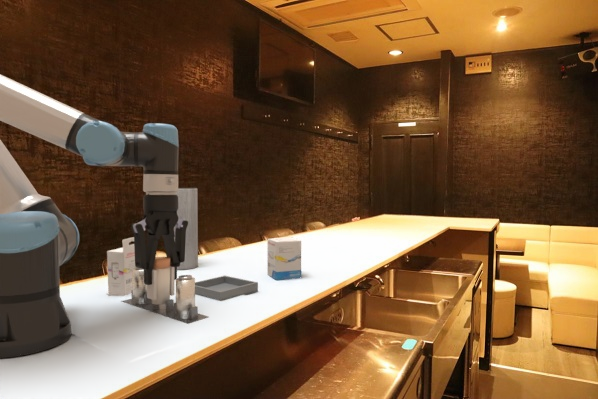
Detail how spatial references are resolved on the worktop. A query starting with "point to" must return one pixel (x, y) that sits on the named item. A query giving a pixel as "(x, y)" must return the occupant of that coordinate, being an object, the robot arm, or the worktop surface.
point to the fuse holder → (178, 311)
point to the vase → (189, 225)
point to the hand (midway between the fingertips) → (160, 296)
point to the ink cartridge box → (121, 269)
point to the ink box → (284, 258)
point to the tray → (225, 287)
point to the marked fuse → (162, 279)
